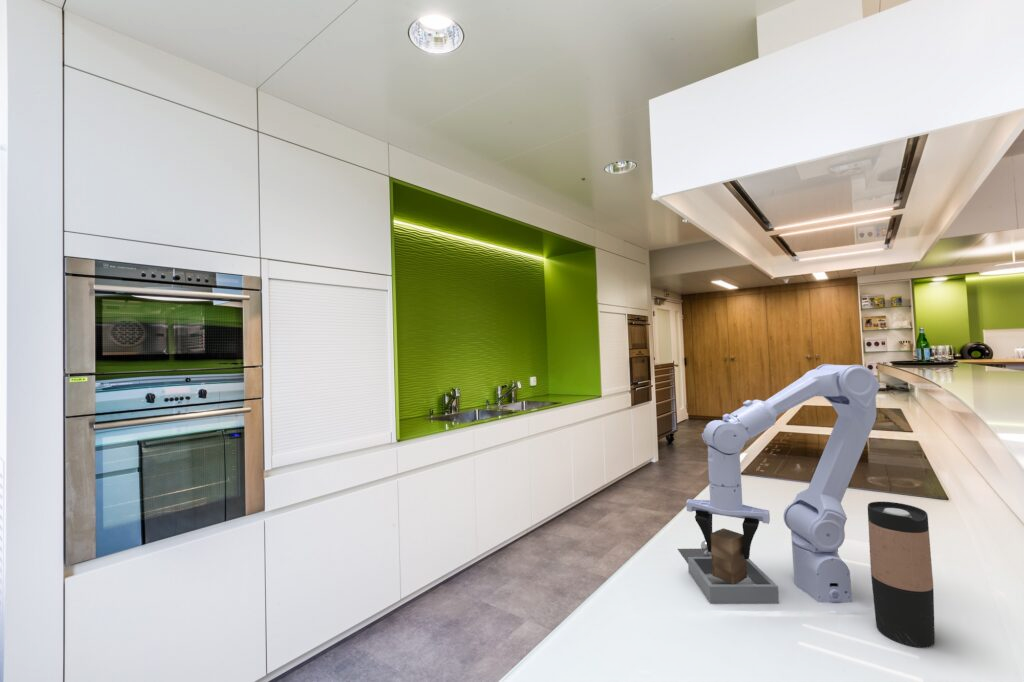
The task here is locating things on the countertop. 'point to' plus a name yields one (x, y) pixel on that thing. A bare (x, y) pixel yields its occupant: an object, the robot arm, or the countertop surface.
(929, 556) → the travel mug
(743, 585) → the charcoal bin
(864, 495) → the countertop surface
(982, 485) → the countertop surface
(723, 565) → the walnut strut
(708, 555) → the stud plate
